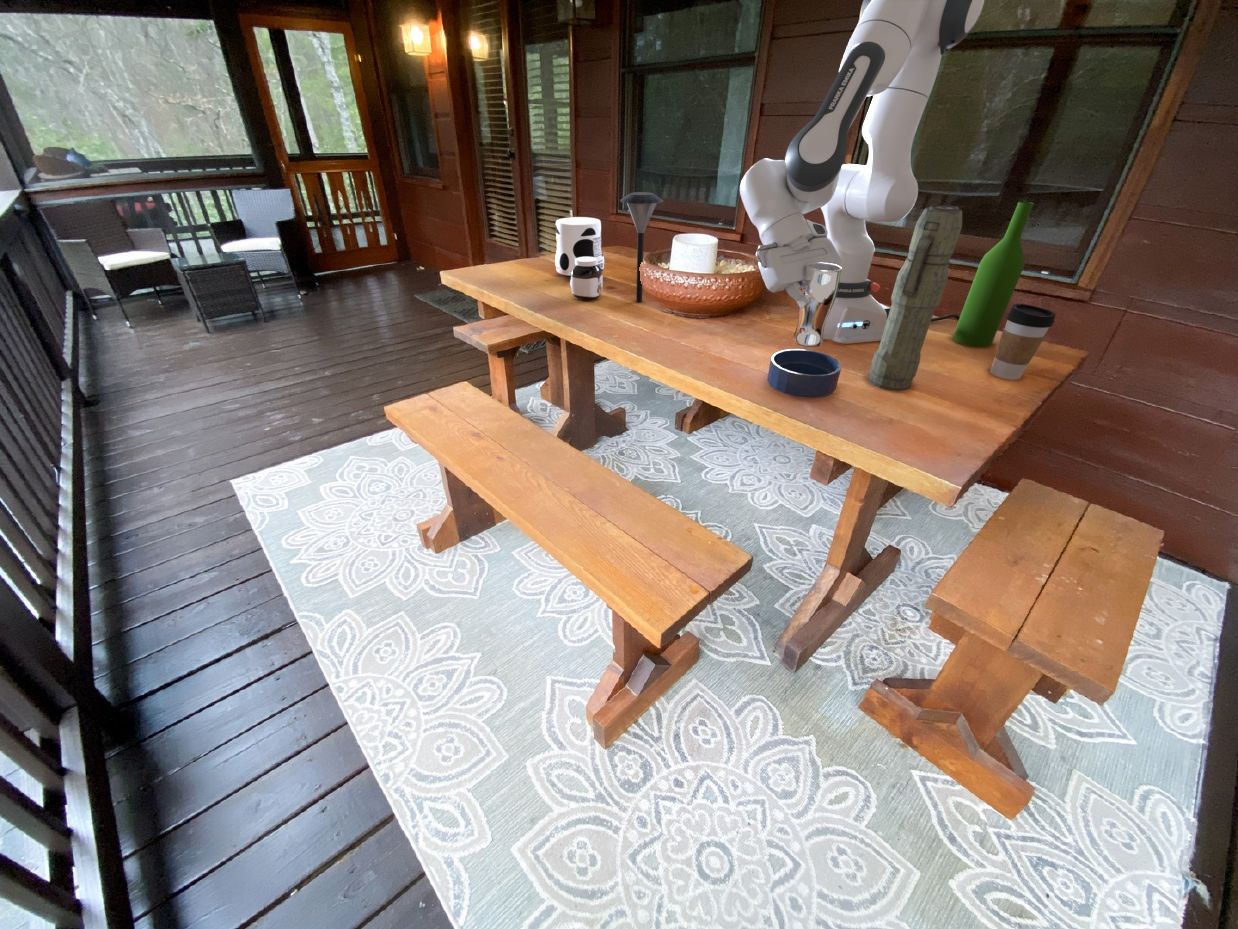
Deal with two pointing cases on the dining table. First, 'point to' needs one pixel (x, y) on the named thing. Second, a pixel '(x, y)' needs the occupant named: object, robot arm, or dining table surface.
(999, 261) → the wine bottle
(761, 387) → the dining table surface
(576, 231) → the milk container
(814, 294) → the beer glass
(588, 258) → the spread jar
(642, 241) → the solar garden light
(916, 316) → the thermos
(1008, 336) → the coffee cup
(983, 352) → the dining table surface
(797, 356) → the bowl
